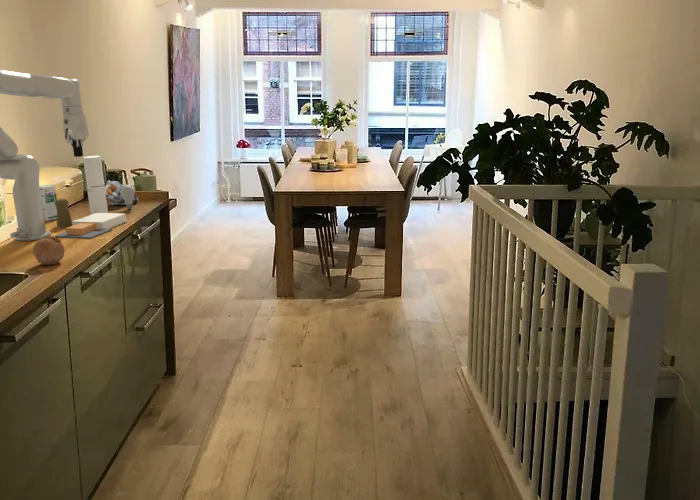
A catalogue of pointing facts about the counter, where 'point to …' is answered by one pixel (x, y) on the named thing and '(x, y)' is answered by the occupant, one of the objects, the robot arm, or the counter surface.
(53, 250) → the onion
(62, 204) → the olive green shaker
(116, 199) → the lucky cat figurine
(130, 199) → the lightbulb
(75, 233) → the tile
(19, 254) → the counter surface
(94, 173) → the tall white block
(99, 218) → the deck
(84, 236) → the mat
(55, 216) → the syrup box
